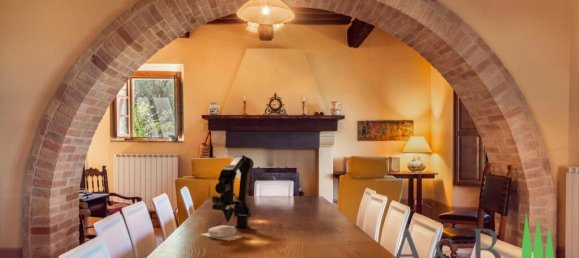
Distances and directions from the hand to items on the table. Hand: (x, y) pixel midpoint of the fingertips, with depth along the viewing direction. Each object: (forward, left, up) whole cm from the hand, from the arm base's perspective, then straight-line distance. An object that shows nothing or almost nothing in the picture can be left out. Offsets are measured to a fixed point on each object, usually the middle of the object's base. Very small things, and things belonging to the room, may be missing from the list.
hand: (227, 221), depth 235 cm
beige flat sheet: (+5, 0, -7) cm, 9 cm away
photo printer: (-1, 0, -4) cm, 5 cm away
